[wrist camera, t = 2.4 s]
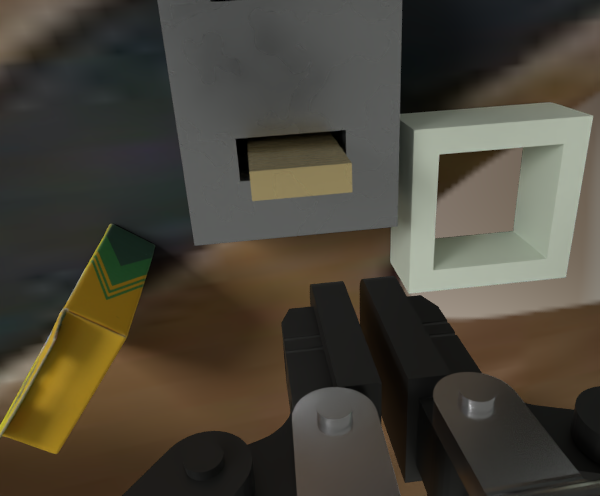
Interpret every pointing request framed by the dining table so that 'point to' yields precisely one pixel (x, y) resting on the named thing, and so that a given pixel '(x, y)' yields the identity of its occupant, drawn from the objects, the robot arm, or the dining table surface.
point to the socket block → (284, 107)
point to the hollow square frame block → (530, 199)
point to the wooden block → (297, 166)
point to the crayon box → (81, 343)
